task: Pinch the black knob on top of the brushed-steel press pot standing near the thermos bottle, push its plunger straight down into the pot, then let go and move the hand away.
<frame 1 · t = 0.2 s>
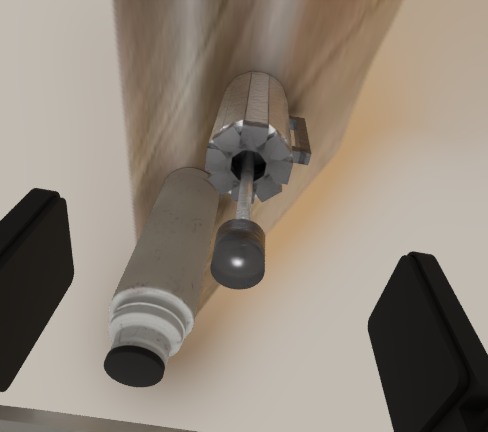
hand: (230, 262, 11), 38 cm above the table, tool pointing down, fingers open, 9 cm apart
plunger: (245, 191, 30), point 20 cm above the table, slide at 0.0 cm
press pot: (254, 104, 47), on the table
thermos bottle: (191, 191, 55), on the table
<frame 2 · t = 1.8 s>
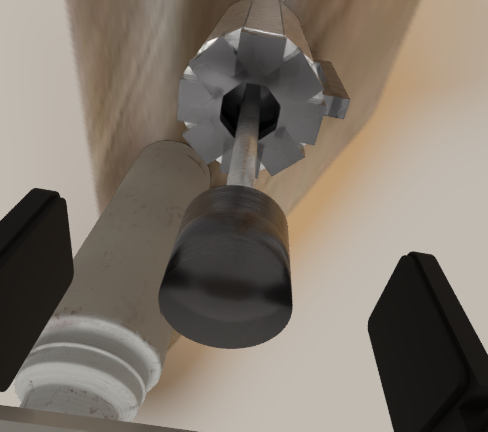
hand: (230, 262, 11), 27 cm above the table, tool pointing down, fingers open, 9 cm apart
plunger: (245, 146, 17), point 20 cm above the table, slide at 0.0 cm
press pot: (258, 46, 33), on the table
thermos bottle: (173, 174, 41), on the table
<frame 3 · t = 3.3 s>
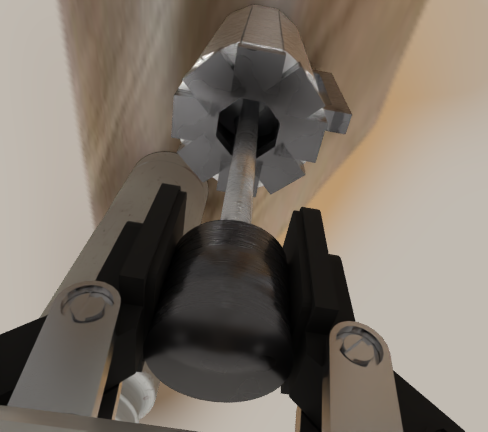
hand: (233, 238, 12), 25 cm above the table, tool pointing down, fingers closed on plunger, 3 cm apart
plunger: (242, 168, 16), point 20 cm above the table, slide at 0.0 cm, touching gripper
press pot: (256, 56, 32), on the table
thermos bottle: (170, 186, 40), on the table
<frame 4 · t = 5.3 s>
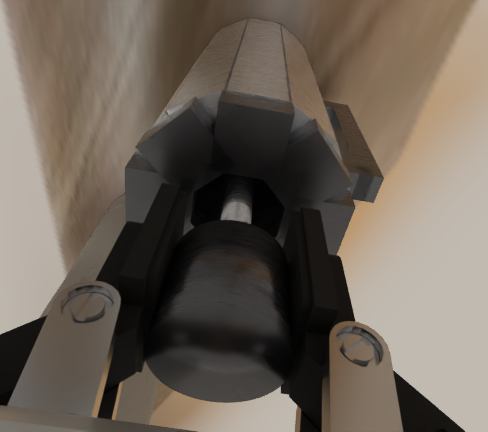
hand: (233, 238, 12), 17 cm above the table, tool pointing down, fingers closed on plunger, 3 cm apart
plunger: (242, 168, 16), point 13 cm above the table, slide at 7.5 cm, touching gripper
press pot: (253, 81, 26), on the table
thermos bottle: (152, 228, 34), on the table
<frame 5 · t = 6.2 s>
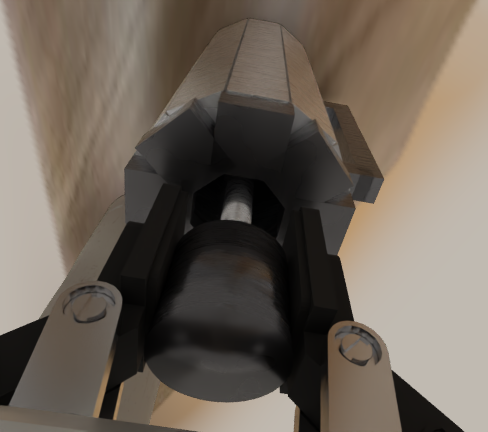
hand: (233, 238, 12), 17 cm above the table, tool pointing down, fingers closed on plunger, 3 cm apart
plunger: (242, 168, 16), point 13 cm above the table, slide at 7.5 cm, touching gripper
press pot: (253, 81, 26), on the table
thermos bottle: (152, 228, 34), on the table
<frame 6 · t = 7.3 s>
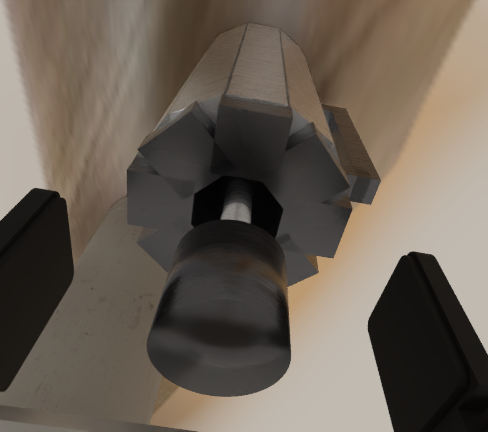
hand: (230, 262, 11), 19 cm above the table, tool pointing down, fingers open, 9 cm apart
plunger: (242, 169, 16), point 13 cm above the table, slide at 7.5 cm
press pot: (253, 85, 26), on the table
thermos bottle: (152, 230, 34), on the table
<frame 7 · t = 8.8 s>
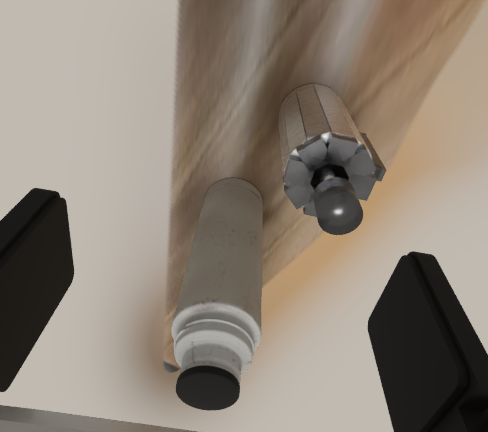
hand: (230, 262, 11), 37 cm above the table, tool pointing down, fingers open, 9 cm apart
plunger: (324, 162, 35), point 13 cm above the table, slide at 7.5 cm
press pot: (310, 116, 46), on the table
thermos bottle: (233, 202, 53), on the table
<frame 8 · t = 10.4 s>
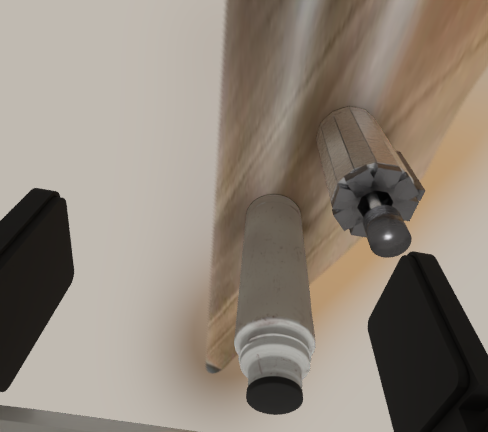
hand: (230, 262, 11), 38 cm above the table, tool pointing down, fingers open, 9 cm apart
plunger: (367, 186, 38), point 13 cm above the table, slide at 7.5 cm
press pot: (346, 136, 49), on the table
thermos bottle: (273, 216, 57), on the table
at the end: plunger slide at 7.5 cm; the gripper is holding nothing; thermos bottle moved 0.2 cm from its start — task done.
